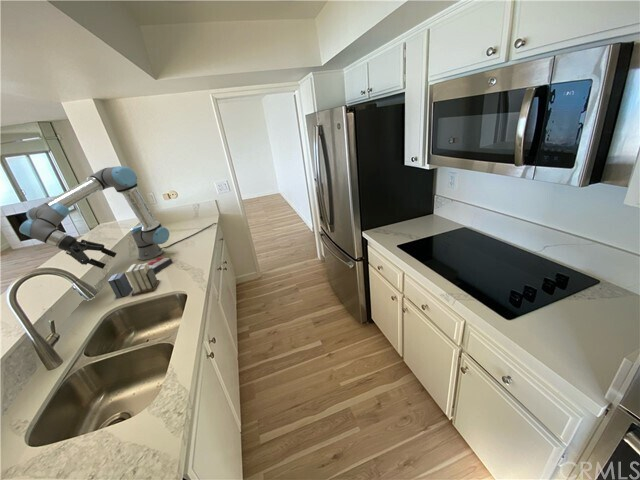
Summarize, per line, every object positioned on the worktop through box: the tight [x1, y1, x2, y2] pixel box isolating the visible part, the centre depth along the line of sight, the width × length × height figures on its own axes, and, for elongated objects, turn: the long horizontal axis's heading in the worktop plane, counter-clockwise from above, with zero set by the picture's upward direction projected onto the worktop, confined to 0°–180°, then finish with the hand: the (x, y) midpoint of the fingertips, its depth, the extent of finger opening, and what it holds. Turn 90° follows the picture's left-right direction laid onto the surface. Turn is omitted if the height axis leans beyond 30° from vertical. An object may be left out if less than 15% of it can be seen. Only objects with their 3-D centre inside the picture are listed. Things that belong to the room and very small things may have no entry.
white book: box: [125, 263, 141, 292], centre depth 146 cm, size 9×2×13 cm, turn 16°
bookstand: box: [131, 262, 160, 297], centre depth 147 cm, size 11×11×14 cm
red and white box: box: [147, 257, 173, 275], centre depth 172 cm, size 11×4×15 cm
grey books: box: [107, 272, 133, 299], centre depth 145 cm, size 7×5×11 cm
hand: (110, 260), depth 140 cm, fingers open, 13 cm apart
